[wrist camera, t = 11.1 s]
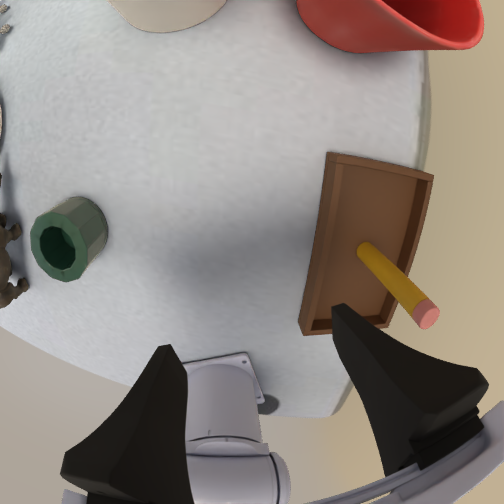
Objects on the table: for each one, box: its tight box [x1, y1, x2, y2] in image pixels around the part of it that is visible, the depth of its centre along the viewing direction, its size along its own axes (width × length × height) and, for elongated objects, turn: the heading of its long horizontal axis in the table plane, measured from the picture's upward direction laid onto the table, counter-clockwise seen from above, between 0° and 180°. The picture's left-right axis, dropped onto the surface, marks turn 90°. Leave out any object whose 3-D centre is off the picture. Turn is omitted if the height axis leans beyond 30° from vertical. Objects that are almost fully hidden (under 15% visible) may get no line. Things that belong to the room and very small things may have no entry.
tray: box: [298, 152, 434, 336], centre depth 21 cm, size 15×9×2 cm, turn 176°
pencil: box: [357, 242, 440, 329], centre depth 17 cm, size 2×2×10 cm
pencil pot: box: [30, 197, 108, 282], centre depth 17 cm, size 5×5×4 cm
